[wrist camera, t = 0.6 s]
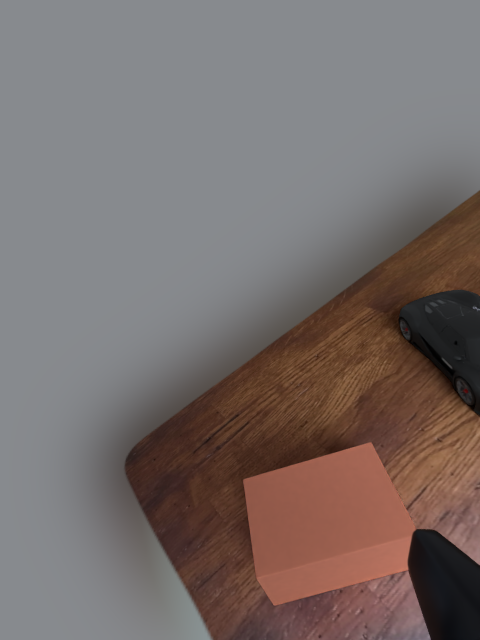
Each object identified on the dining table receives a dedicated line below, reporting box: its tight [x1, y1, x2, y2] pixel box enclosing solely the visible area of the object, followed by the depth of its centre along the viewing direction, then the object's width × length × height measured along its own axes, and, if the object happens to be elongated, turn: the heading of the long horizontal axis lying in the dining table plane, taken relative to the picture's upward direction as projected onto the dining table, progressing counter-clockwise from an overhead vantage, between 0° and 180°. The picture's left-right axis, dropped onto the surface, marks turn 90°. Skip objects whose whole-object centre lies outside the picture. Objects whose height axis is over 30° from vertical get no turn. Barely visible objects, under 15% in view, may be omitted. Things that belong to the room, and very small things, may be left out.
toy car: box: [399, 290, 480, 415], centre depth 31 cm, size 7×15×4 cm, turn 8°
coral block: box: [243, 442, 416, 606], centre depth 23 cm, size 9×6×4 cm, turn 97°
